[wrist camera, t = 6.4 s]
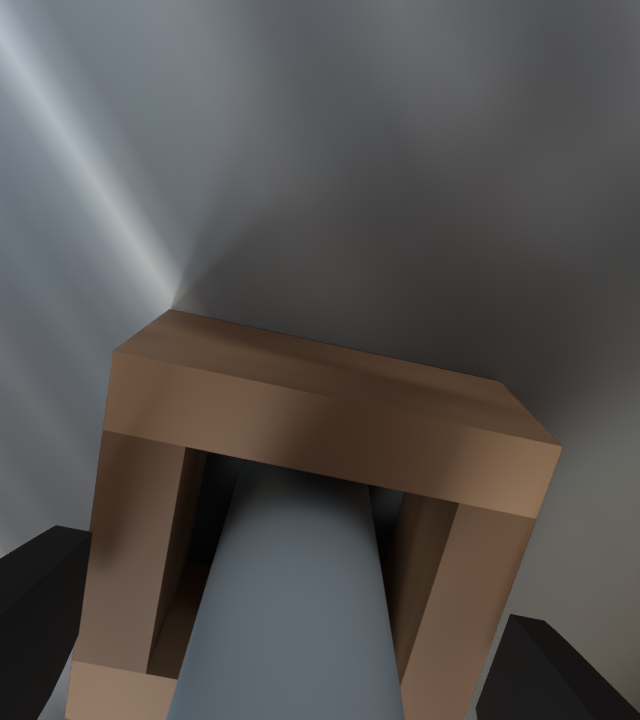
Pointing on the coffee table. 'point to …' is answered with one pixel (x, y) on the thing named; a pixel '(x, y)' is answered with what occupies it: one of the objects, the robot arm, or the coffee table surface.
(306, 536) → the dowel
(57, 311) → the coffee table surface
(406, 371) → the brown square frame
